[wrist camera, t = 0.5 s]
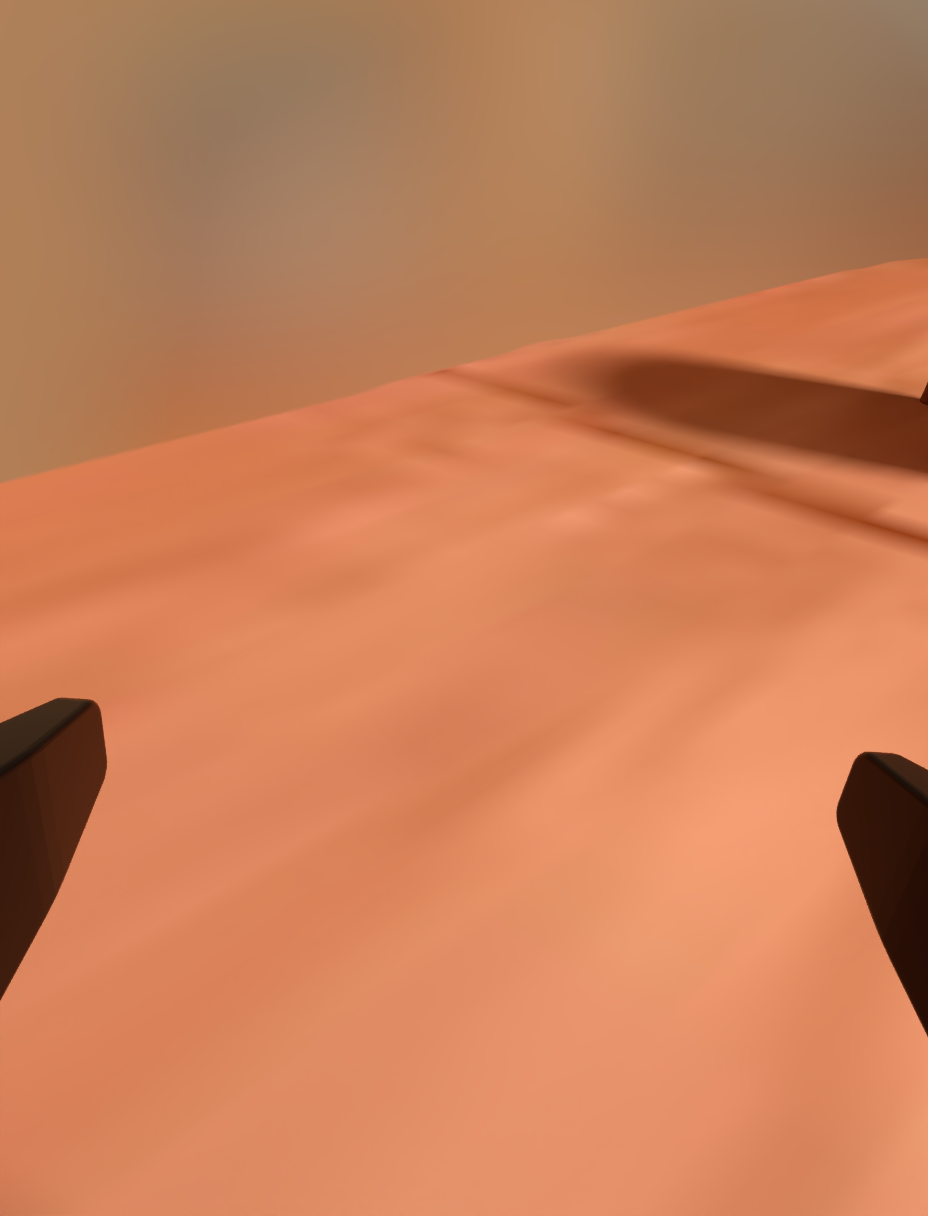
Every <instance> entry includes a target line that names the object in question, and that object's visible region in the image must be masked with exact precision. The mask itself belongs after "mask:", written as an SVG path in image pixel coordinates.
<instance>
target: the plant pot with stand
mask: <svg viewBox="0 0 928 1216" xmlns="http://www.w3.org/2000/svg"><path fill="white" fill-rule="evenodd" d="M920 401H921V402H923V403H925V404H928V383H927V385H926V387H925V390H924V392H923V394H922V396H921V399H920Z"/></svg>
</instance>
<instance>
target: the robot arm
mask: <svg viewBox="0 0 928 1216" xmlns="http://www.w3.org/2000/svg"><path fill="white" fill-rule="evenodd" d="M106 769H107V756H106V748H105V740H104V732H103V725H102V717H101V711H100V708H99V706H98V704H97V703H96V702H94V701H93V700H89V699H75V698H57V699H54V700H52V701H49V702H47V703H45V704H43V705H40V706H38V707H36V708H33V709H31V710H29V711H27V712H24V713H22V714H20V715H18V716H15V717H13V718H11V719H9V720H6V721H4V722H2V723H0V1000H1V998H2V997H3V995H4V993H5V991H6V989H7V987H8V986H9V984H10V982H11V980H12V978H13V976H14V975H15V973H16V971H17V969H18V967H19V965H20V963H21V962H22V960H23V958H24V956H25V954H26V952H27V951H28V949H29V947H30V945H31V943H32V941H33V940H34V938H35V936H36V934H37V932H38V930H39V929H40V927H41V925H42V923H43V921H44V919H45V918H46V916H47V914H48V912H49V910H50V908H51V906H52V904H53V902H54V900H55V898H56V896H57V894H58V891H59V889H60V887H61V884H62V882H63V880H64V878H65V875H66V873H67V870H68V868H69V865H70V863H71V860H72V858H73V855H74V853H75V851H76V848H77V846H78V843H79V841H80V838H81V836H82V833H83V831H84V828H85V826H86V823H87V821H88V818H89V816H90V814H91V811H92V809H93V806H94V804H95V801H96V799H97V796H98V794H99V791H100V789H101V786H102V784H103V781H104V778H105V774H106ZM837 823H838V827H839V830H840V832H841V835H842V838H843V841H844V843H845V846H846V849H847V851H848V854H849V857H850V859H851V862H852V865H853V868H854V870H855V873H856V876H857V878H858V881H859V884H860V886H861V889H862V892H863V894H864V897H865V900H866V903H867V905H868V908H869V911H870V913H871V916H872V919H873V921H874V924H875V926H876V929H877V931H878V934H879V936H880V939H881V941H882V943H883V945H884V948H885V950H886V952H887V954H888V956H889V958H890V961H891V963H892V965H893V967H894V969H895V971H896V973H897V975H898V977H899V979H900V981H901V983H902V985H903V987H904V989H905V991H906V993H907V995H908V997H909V999H910V1001H911V1003H912V1006H913V1008H914V1010H915V1012H916V1014H917V1016H918V1018H919V1020H920V1022H921V1024H922V1026H923V1028H924V1030H925V1032H926V1034H927V1036H928V770H927V769H925V768H923V767H921V766H919V765H918V764H916V763H914V762H912V761H910V760H908V759H906V758H904V757H902V756H900V755H898V754H893V753H881V752H864V753H861V754H860V755H858V756H857V758H856V759H855V761H854V763H853V765H852V768H851V770H850V773H849V776H848V778H847V781H846V784H845V786H844V789H843V792H842V794H841V797H840V799H839V802H838V806H837Z"/></svg>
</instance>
